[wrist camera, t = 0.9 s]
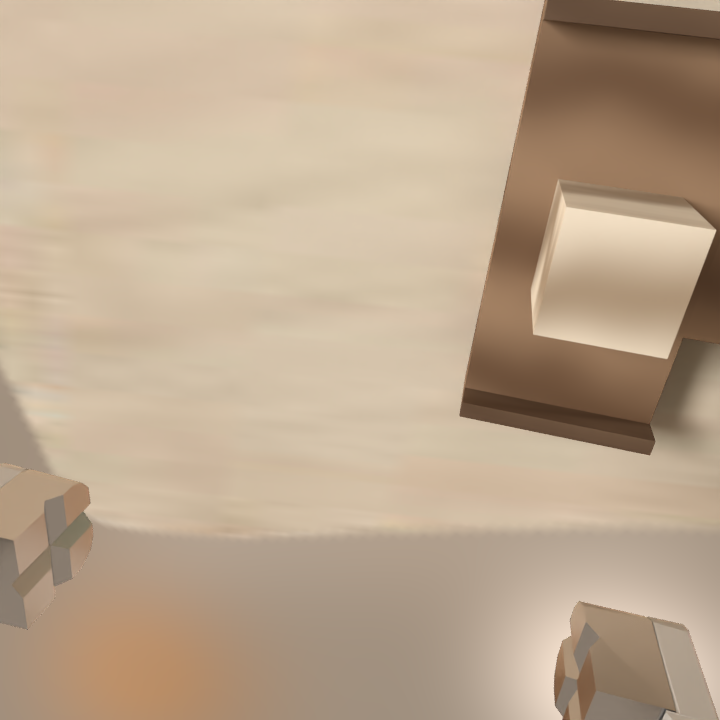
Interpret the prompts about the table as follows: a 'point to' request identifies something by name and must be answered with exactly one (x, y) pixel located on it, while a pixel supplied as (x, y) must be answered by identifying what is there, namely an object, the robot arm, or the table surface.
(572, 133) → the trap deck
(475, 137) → the table surface
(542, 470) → the table surface
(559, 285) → the maple block
